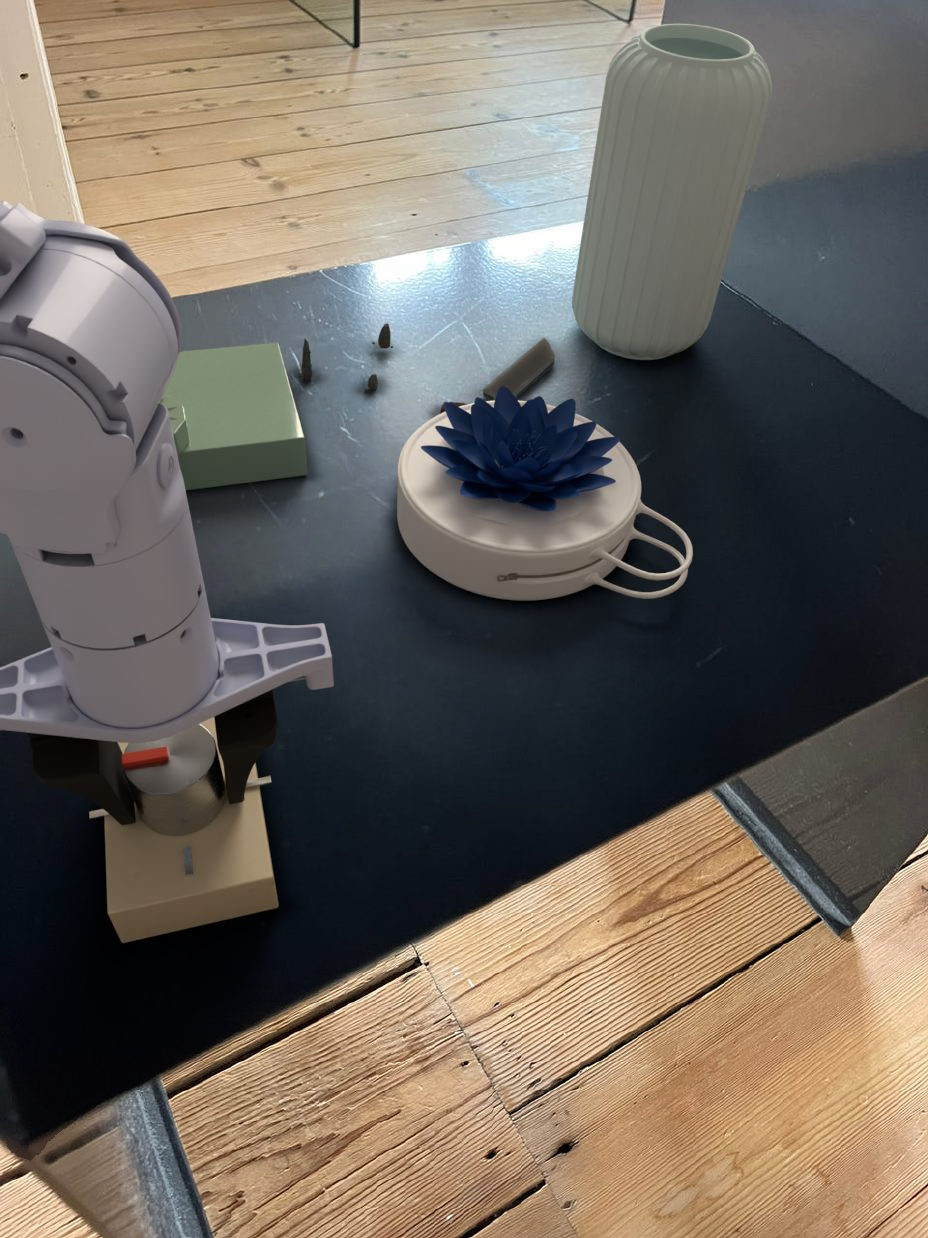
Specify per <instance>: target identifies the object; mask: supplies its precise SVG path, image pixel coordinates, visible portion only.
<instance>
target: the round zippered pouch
mask: <svg viewBox="0 0 928 1238" xmlns="http://www.w3.org/2000/svg"><path fill="white" fill-rule="evenodd" d="M449 402H450V401H443V405H444V409H445V412H443V413H441V414H440V413H439V414H437V415H435V416H434V417H432V418H431V419H429V420H427V421H425V422H424V423H423V424H422V425H421V426H420V427H418V428H417V429H416V430H415V431H414V432H413V433H412V434H411V435H410V436H409V438H407V440H406V441H405V443H404V445H403V446H402V449H401V451H400V454H399V457H398V462H397V484H396V485H397V487H396V488H397V489H396V490H397V491H396V493H397V494H396V495H397V496H396V497H397V499H396V519H397V520H396V521H397V525H398V530H399V533H400V535H401V538H402V540H403V541H404V543H405V545H406V547H407V548H408V550H409V551H410V552H411V554H412V555H413V556H414V557H415V559H417V560H418V561H419V563H421V565H422V566H424V567H425V568H426V569H428V570H429V571H430V572H431V573H433V574H434V575H435V576H438V577H439V578H441V579H442V580H444V581H446V582H448V583H450V584H451V585H453V586H455V587H457V588H460V589H462V590H464V591H468V592H471V593H474V594H477V595H480V596H484V597H489V598H494V599H498V600H499V599H500V600H506V601H507V600H509V601H521V602H522V601H523V602H524V601H526V602H527V601H542V600H549V599H550V600H551V599H556V598H562V597H564V596H565V597H566V596H568V595H572V594H576V593H577V592H580V591H583V590H585V589H587V588H589V587H591V586H593V585H598V586H601V587H603V588H605V589H608V590H611V591H613V592H615V593H619V594H621V595H624V596H627V597H631V598H636V599H642V600H653V599H658V598H662V597H665V596H668V595H671V594H673V593H674V592H676V591H677V590H679V589H680V588H681V587H682V586H683V585H684V584H685V582H686V580H687V577H688V572H689V567H690V565H691V564H692V561H693V556H694V551H693V544H692V541H691V540H690V538H689V535H688V534H687V533H686V532H685V531H684V530H683V529H682V528H681V527H680V526H679V525H677V524H676V523H675V522H674V521H671V520H670V519H669V518H667V517H665V516H663V515H662V514H660V513H658V512H657V511H655V510H653V509H651V508H650V507H648V506H646V505H645V504H644V503H643V502H642V499H641V497H642V479H641V475H640V472H639V470H638V467H637V464H636V462H635V460H634V458H633V457H632V455H631V454H630V453H629V451H628V449H626V448H625V446H624V445H623V444H622V443H621V442H620V441H621V437H619V436H614V434H612V433H610V432H609V431H608V430H606V429H605V428H604V427H603V426H600V425H599V424H598V423H597V422H596V421H593V420H590V419H589V418H586V417H584V416H582V415H580V414H578V413H576V412H577V411H576V410H577V403H576V400H575V399H574V398H567V399H566V400H564V401H562V402H561V403H560V404H558V405H557V406H554V405H551V404H547V403H546V402H545V399H544V398H543V396H541V395H538V396H535V397H534V398H533V399H532V398H531V399H530V398H529V400H519V399H518V398H517V399H516V398H515V396H514V395H513V394H512V392H511V391H510V390H509V389H508V388H506V387H505V386H502V387H500V388H499V390H498V392H497V395H496V399H495V400H494V401H492V400H484V398H480V397H478V396H477V397H475V399H474V402H471V403H466V404H467V405H463V406H460V407H458V406H456V405H454V404H451V403H449ZM639 514H645V515H648V516H649V517H652V518H654V519H656V520H657V521H659V522H661V523H663V524H664V525H665V526H667V527H669V528H670V529H671V530H672V531H674V532H675V534H677V535H678V537H680V539H681V540H682V542H683V543H684V547H685V552H686V555H685V557H684V555H683V554H681V552H680V551H679V550H677V549H676V548H675V547H673V546H671V545H670V544H667V543H665V542H663V541H661V540H658V539H656V538H654V537H653V536H650V535H647V534H645V533H642V532H641V531H639V530H637V529H636V528H635V526H634V523H635V520H636V516H637V515H639ZM634 539H635V540H640V541H643V542H646V543H648V544H651V545H654V546H655V547H657V548H659V549H662V550H664V551H666V552H667V553H668V554H670V555H672V556H673V557H674V558H675V559H676V560H677V561H678V563H679V565H680V566H679V567H678V568H677V569H674V570H671V571H668V572H665V573H656V572H655V573H654V572H648V571H644V570H642V569H638V568H636V567H634V566H632V565H630V564H628V563H626V562H624V561H622V560H623V558H624V555H625V554H626V552H627V550H628V547H629V544H630V541H632V540H634ZM616 567H618V568H620V569H621V570H623V571H626V572H627V573H629V574H632V575H633V576H636V577H639V578H642V579H646V580H648V581H649V580H650V581H667V580H670V579H674V578H676V577H678V576H679V578H678V580H677V581H676V582H674V584H672V585H671V586H669V587H667V588H664V589H661V590H656V591H651V592H650V591H649V592H647V591H646V592H644V591H643V592H642V591H636V590H631V589H627V588H625V587H622V586H619V585H616V584H613V583H611V582H608V581H606V580H604V578H606V577H607V576H608V575H610V573H611V572H612V571H614V570H615V569H616Z"/></svg>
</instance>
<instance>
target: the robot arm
mask: <svg viewBox="0 0 928 1238" xmlns="http://www.w3.org/2000/svg"><path fill="white" fill-rule="evenodd" d="M182 337H183V335H182V325H181V319H180V316H179V313H178V310H177V307H176V305H175V303H174V299H173V298H172V296H171V294H170V293H169V291H168V289H167V287H166V286H165V285H164V283H163V282H162V281H161V279H160V278H159V277H158V276H157V274H156V273H155V271H153V270H152V269H151V268H150V267H149V266H148V265H147V264H146V262H144V261H143V260H142V259H140V258H139V256H137V255H136V253H135V252H134V251H133V249H132V247H130V245H129V244H128V242H126V241H125V240H124V239H122V238H121V237H120V236H117V235H115V234H114V233H111V232H108V231H107V230H104V229H102V228H99V227H96V226H94V225H90V224H87V223H82V222H78V221H71V220H59V219H58V220H57V219H56V220H55V219H48V218H45V217H42V216H40V215H38V214H36V213H34V212H32V211H31V210H30V209H28V208H27V207H25V205H23V204H22V203H20V202H18V203H17V204H15V206H13V205H11V204H10V203H9V202H8V201H6V200H0V534H3V535H6V536H7V537H8V540H9V543H10V545H11V547H12V550H13V553H14V555H15V558H16V561H17V563H18V565H19V568H20V570H21V573H22V576H23V579H24V580H25V583H26V585H27V588H28V591H29V594H30V596H31V598H32V601H33V603H34V606H35V608H36V610H37V613H38V616H39V620H40V622H41V625H42V627H43V629H44V632H45V634H46V637H47V640H48V642H49V644H50V647H48V648H46V649H42V650H41V651H38V652H36V653H33V654H30V655H28V656H25V657H23V658H21V659H18V660H16V661H13V662H10V663H8V664H6V665H3V666H0V731H8V732H9V731H10V732H18V733H27V735H28V737H29V739H30V740H29V745H30V746H31V769H32V771H33V773H34V775H35V777H36V778H37V780H38V781H39V782H40V783H41V784H42V786H43V787H51V788H52V787H53V788H59V789H63V790H67V791H70V792H72V793H75V794H78V795H80V796H82V797H84V798H85V799H87V800H90V801H91V802H93V803H94V804H96V806H99V807H100V809H104V810H105V811H106V812H107V813H109V814H110V815H111V816H112V817H113V818H114V819H115V820H116V821H117V822H118V823H119V824H121V825H127V824H132V823H136V818H135V801H134V799H133V796H132V793H131V790H130V787H129V785H128V782H127V779H126V776H125V774H124V770H123V765H122V754H123V753H122V751H121V749H120V746H119V744H118V742H122V743H144V742H151V741H157V740H161V739H164V738H168V737H170V736H173V735H175V734H178V733H180V732H182V731H184V730H187V729H189V728H191V727H193V726H195V725H197V724H199V723H201V722H204V721H206V720H208V719H210V718H212V717H214V719H215V728H216V736H217V745H218V750H219V753H220V755H221V758H222V761H223V765H224V773H225V781H226V790H227V798H228V801H229V804H235V803H240V802H243V801H244V800H245V798H244V793H245V788H246V784H247V780H248V777H249V775H250V772H251V770H252V768H253V766H254V764H255V762H256V763H257V760H259V758H260V756H261V755H262V754H263V753H264V752H265V751H266V750H267V749H268V748H270V747H271V746H272V745H274V743H275V740H276V737H277V734H278V733H277V732H278V727H279V726H278V723H279V722H278V715H277V710H276V703H275V698H274V691H273V690H274V689H276V688H278V687H280V686H283V685H284V684H286V683H290V682H291V683H292V682H298V681H303V680H305V684H306V686H307V689H309V690H312V691H314V690H322V689H329V688H333V687H335V681H334V668H333V667H334V666H333V655H332V651H331V650H332V649H331V646H330V642H329V638H328V634H327V629H326V625H325V623H323V622H320V623H311V624H298V625H289V624H288V625H287V624H274V623H265V622H264V623H263V622H254V621H244V620H235V619H225V618H216V617H215V618H214V617H211V612H210V607H209V602H208V597H207V591H206V586H205V582H204V577H203V572H202V565H201V562H200V556H199V552H198V547H197V541H196V536H195V532H194V527H193V521H192V516H191V512H190V507H189V500H188V497H187V490H185V485H184V480H183V476H182V473H181V470H180V466H179V461H178V456H177V451H176V446H175V441H174V436H173V431H172V426H171V421H170V416H169V412H168V409H167V408H166V406H164V405H163V404H160V403H159V402H160V400H161V398H162V396H163V394H164V392H165V390H166V388H167V385H168V383H169V381H170V379H171V377H172V375H173V373H174V370H175V367H176V363H177V358H178V356H179V352H181V348H182Z"/></svg>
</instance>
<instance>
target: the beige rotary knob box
mask: <svg viewBox="0 0 928 1238" xmlns="http://www.w3.org/2000/svg"><path fill="white" fill-rule="evenodd" d="M199 724H201V725H202V726H204V727H205V728H206V729H207V730H208V731H209V732H210V733H211V734H212V736H213V738H214V740H215V742H216V747H217V751H218V756H219V760H220V764H221V769H222V773H223V778H224V782H225V787H226V781H225V773H224V765H223V761H222V758H221V755H220V753H219V750H218V745H217V736H216V728H215V719H214V717H212V718H210V719H208V720H206V721H204V722H201V723H199ZM118 744H119V746H120V749H121V751H122V753H123V754H124V752H125V749H126V747H127V745H128V744H129V743H122V742H118ZM268 785H272V777H271V775H268V776H263V777H259V774H258V769H257V761H256V762H255V764H254V766H253V768H252V770H251V772H250V775H249V777H248V780H247V784H246V788H245V793H244V798H245V800H244V801H243V802H240V803H235V804H229V801H228V798H227V790H226V799H225V802H224V805H223V807H222V809H221V811H220V813H219V814H218V815H217V817H216V818H215V819H214V820H213V821H212V822H210V823H209V824H208V825H207V826H205V827H203V828H202V829H200V830H198V831H195V832H193V833H189V834H185V835H174V836H173V835H165V834H161V833H158V832H156V831H154V830H152V829H151V828H149V827H148V826H147V825H146V824H145V823H144V822H143V820H142V819H141V817H140V815H139V812H138V810H137V807H136V804H135V818H136V823H132V824H127V825H121V824H119V823H118V822H117V821H116V820H115V819H114V818H113V817H112V816H111V815H110V814H109V813H107V812H106V811H105V810H104V809H102V808H100V809H95V810H91V811H88V815H89V816H88V817H89V820H96V819H97V820H98V819H101V818H104V821H103V822H104V845H105V846H104V849H105V851H104V852H105V874H106V875H105V876H106V877H105V878H106V879H105V880H106V904H107V905H106V906H107V909H106V910H107V915H108V917H109V919H110V921H111V923H112V926H113V927H114V930H115V932H116V935H117V936H118V938H119V940H120V942H121V943H122V944H125V943H129V942H134V941H138V940H143V939H147V938H151V937H156V936H160V935H165V934H169V933H175V932H179V931H183V930H187V929H192V928H196V927H201V926H203V925H208V924H214V923H217V922H221V921H222V922H223V921H226V920H230V919H234V918H240V917H243V916H248V915H252V914H257V913H262V912H266V911H269V910H275V909H277V908H279V906H280V905H279V900H278V893H277V886H276V882H275V876H274V868H273V863H272V857H271V848H270V843H269V836H268V831H267V826H266V825H267V824H266V818H265V813H264V807H263V806H264V805H263V799H262V794H261V789H260V788H261V787H262V786H268Z"/></svg>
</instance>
